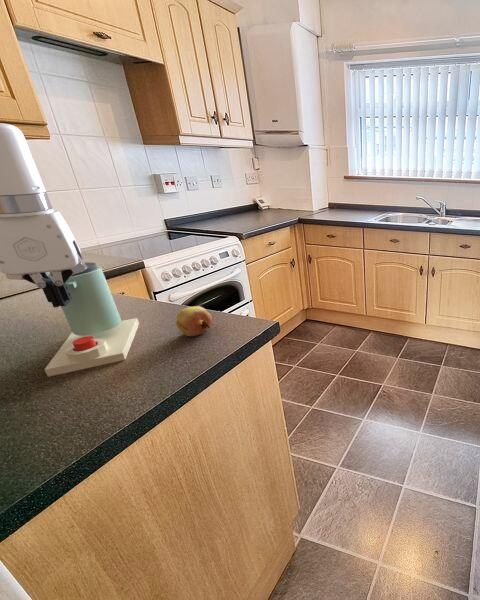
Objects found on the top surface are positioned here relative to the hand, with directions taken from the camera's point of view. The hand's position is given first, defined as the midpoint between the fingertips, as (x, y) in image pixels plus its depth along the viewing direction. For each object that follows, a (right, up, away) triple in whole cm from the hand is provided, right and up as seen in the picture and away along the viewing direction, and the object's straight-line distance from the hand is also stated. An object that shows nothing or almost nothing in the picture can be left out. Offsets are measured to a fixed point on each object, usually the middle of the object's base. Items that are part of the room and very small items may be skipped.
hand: (62, 304), depth 64 cm
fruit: (+16, -7, +16) cm, 24 cm away
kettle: (-3, -5, +11) cm, 13 cm away
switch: (+1, -9, +4) cm, 10 cm away
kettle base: (-2, -10, +10) cm, 14 cm away
